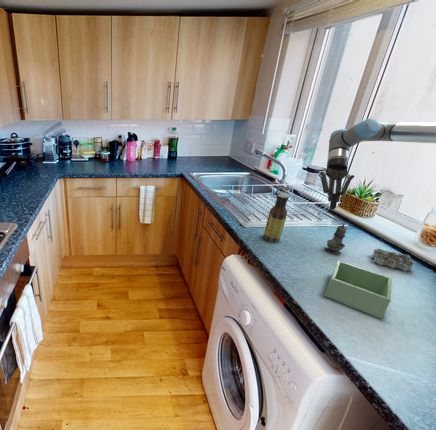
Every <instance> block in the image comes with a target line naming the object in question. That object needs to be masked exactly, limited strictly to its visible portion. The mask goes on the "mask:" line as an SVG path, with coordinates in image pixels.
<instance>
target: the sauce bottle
mask: <svg viewBox="0 0 436 430" xmlns="http://www.w3.org/2000/svg"><path fill="white" fill-rule="evenodd" d="M288 201H289V195H288V194H284V193H278V194H277V195H276V201H275V204H274V205H273V206H272V207H271V208H270V210H269V213H268V217H267V220H266V224H265V227H264V231H263V239H265V240H266V241H267V242H271V243H278V242H279V241H280V238H281V236H282V234H283V230H284V226H285V223H286V220H287V215H288V210H287V208H286V206H287V204H288V203H287V202H288Z"/></svg>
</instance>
